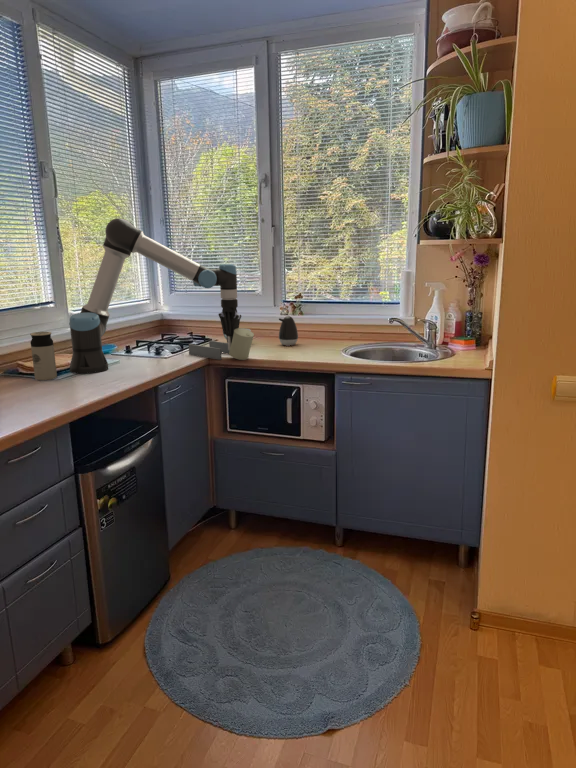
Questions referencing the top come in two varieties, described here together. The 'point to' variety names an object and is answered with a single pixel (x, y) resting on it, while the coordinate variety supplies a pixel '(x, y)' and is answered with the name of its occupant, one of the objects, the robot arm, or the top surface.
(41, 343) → the travel mug
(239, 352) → the can
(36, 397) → the top surface
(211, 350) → the channel
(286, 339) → the pump dispenser
